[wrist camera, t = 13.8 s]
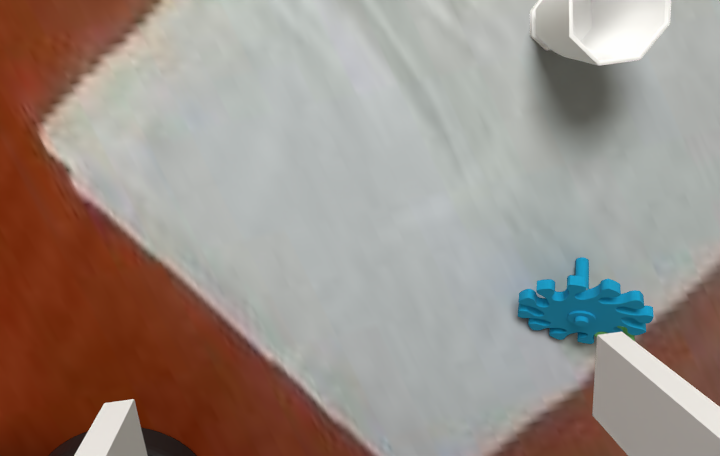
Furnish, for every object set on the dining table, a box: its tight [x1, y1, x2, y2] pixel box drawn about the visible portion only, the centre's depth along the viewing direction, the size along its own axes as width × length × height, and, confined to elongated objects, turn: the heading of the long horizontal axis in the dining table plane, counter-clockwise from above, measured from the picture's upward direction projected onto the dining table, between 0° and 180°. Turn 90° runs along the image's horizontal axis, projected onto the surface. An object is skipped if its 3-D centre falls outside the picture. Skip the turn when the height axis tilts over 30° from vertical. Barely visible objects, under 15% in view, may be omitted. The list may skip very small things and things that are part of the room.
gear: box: [518, 258, 653, 344], centre depth 43 cm, size 11×6×10 cm
